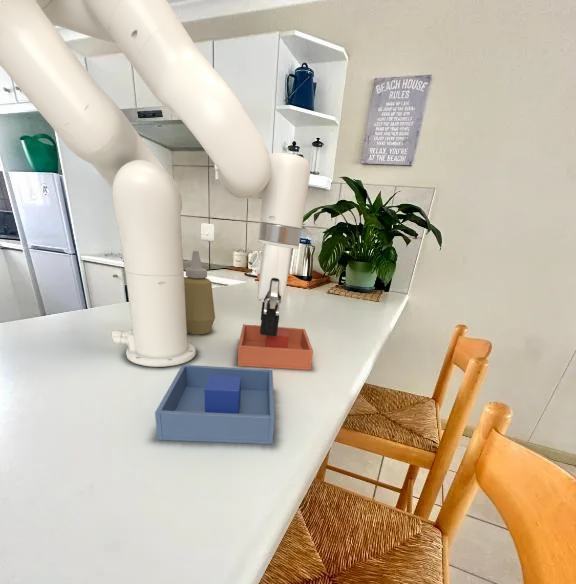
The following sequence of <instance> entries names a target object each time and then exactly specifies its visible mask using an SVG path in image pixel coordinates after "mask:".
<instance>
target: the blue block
mask: <svg viewBox="0 0 576 584" xmlns="http://www.w3.org/2000/svg"><path fill="white" fill-rule="evenodd" d="M204 392H205V412H209V413H230V414H239V409H240V399H241V376H225V375H209V378H208V381H207V384H206V386H205V389H204Z"/></svg>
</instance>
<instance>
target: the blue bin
mask: <svg viewBox="0 0 576 584" xmlns="http://www.w3.org/2000/svg"><path fill="white" fill-rule="evenodd" d="M273 374H274V373H273V369H260V368H247V367H246V368H244V367H227V366H212V365H211V366H210V365H209V366H208V365H195V364H181V366H180V368H179V370H178V371H177V373H176V375H175V377H174V378H173V380H172V382H171V383H170V385H169V387H168V389H167V390H166V393H165V394H164V396H163V398H162V399H161V401H160V402H159V404H158V407H157V408H156V410H155V411H154V418H155V425H156V426H155V427H156V435H157V441H175V442H176V441H179V442H180V441H182V442H202V443H205V442H206V443H232V444H257V445H259V444H260V445H273V442H274V434H275V433H274V432H275V421H276V415H275V414H276V413H275V412H276V411H275V394H274V393H275V392H274V375H273ZM209 375H225V376H241V399H240V409H239V414H230V413H209V412H205V392H204V389H205V386H206V384H207V381H208V378H209Z"/></svg>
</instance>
